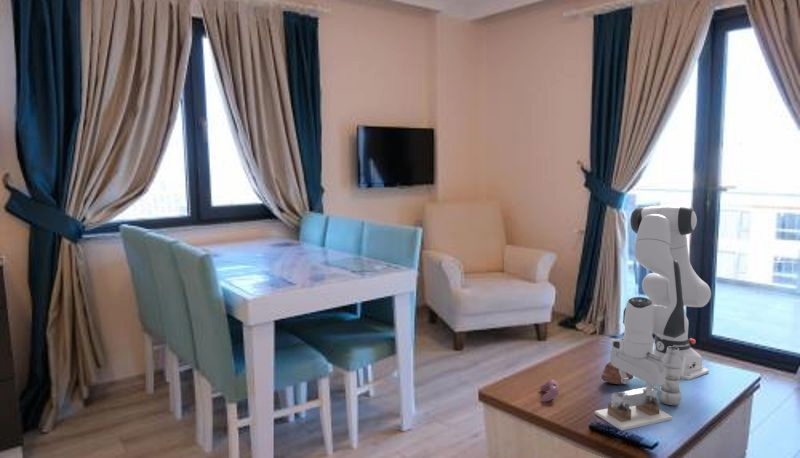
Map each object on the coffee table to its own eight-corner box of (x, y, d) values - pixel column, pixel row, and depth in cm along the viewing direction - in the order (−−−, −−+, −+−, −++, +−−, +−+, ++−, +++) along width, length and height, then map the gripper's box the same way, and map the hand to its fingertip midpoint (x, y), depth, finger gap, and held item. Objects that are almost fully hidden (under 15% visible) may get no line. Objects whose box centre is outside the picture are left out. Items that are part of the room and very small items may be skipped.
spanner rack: (643, 403, 184) (644, 385, 183) (672, 419, 173) (673, 400, 172) (594, 413, 176) (595, 395, 176) (621, 430, 165) (622, 410, 164)
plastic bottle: (679, 409, 179) (683, 352, 177) (657, 404, 183) (661, 349, 180) (681, 402, 185) (685, 347, 182) (659, 397, 188) (663, 343, 186)
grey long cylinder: (650, 397, 179) (650, 385, 178) (658, 401, 175) (659, 390, 175) (608, 405, 173) (609, 393, 172) (616, 410, 169) (617, 398, 169)
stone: (621, 376, 207) (622, 352, 206) (640, 384, 200) (642, 359, 198) (599, 383, 201) (600, 358, 199) (618, 391, 193) (620, 365, 192)
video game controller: (552, 407, 184) (562, 390, 183) (540, 400, 185) (550, 384, 184) (550, 395, 194) (559, 379, 193) (538, 388, 195) (548, 373, 193)
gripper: (671, 357, 163) (669, 400, 165) (622, 337, 182) (620, 375, 184) (656, 360, 161) (653, 403, 163) (607, 339, 180) (605, 378, 182)
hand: (635, 388), depth 173 cm, fingers open, 8 cm apart
